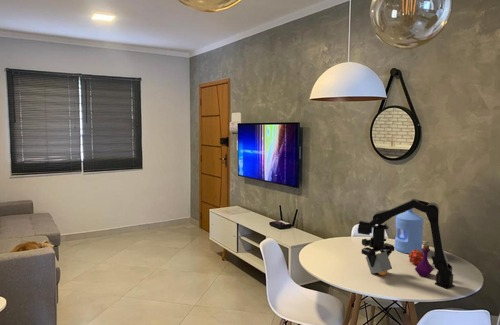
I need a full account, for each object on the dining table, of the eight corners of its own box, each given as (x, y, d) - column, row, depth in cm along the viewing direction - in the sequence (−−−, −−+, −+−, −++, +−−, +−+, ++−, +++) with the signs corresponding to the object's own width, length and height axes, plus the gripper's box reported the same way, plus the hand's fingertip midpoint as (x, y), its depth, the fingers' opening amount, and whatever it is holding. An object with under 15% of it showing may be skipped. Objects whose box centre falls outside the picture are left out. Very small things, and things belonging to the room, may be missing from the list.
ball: (380, 264, 198) (382, 274, 197) (374, 266, 195) (375, 276, 194) (388, 264, 194) (390, 274, 193) (381, 266, 191) (383, 276, 190)
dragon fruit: (412, 262, 216) (422, 273, 205) (401, 254, 215) (411, 265, 203) (423, 251, 215) (433, 262, 203) (412, 243, 213) (421, 253, 202)
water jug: (416, 246, 240) (419, 203, 237) (425, 254, 224) (428, 208, 221) (391, 245, 241) (393, 202, 238) (398, 253, 226) (400, 207, 223)
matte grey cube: (392, 268, 193) (386, 251, 196) (382, 271, 189) (376, 254, 192) (381, 270, 200) (375, 254, 202) (371, 273, 196) (365, 256, 198)
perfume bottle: (418, 270, 200) (420, 237, 198) (433, 274, 195) (435, 240, 193) (414, 275, 194) (415, 241, 192) (429, 278, 190) (431, 244, 188)
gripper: (378, 230, 207) (377, 257, 208) (354, 234, 197) (353, 263, 199) (395, 235, 197) (394, 264, 199) (370, 240, 188) (369, 271, 189)
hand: (377, 265), depth 197 cm, fingers closed on matte grey cube, 8 cm apart
